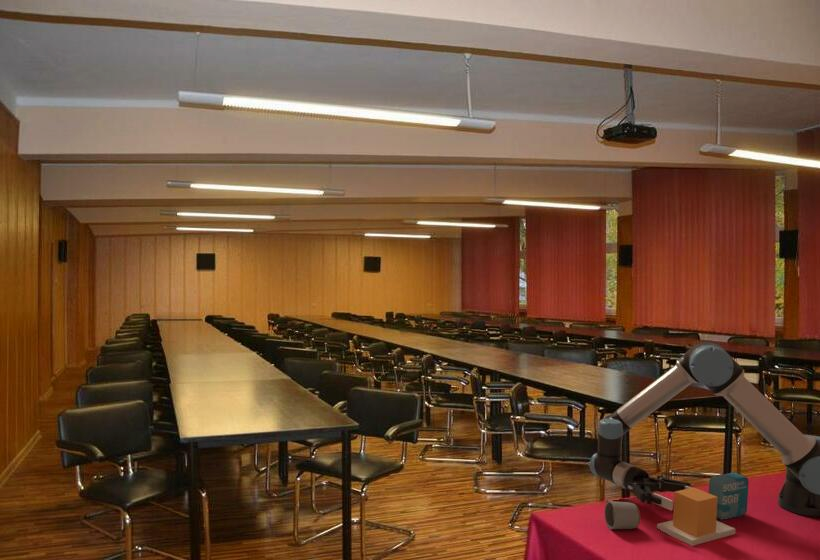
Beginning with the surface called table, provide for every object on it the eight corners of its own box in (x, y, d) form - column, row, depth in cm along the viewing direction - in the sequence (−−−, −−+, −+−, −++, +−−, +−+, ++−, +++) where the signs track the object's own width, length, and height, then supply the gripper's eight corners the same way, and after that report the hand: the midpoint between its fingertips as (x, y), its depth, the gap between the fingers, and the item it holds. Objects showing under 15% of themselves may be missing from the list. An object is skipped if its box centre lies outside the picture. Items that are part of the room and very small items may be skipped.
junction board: (699, 518, 205) (700, 492, 205) (735, 533, 195) (736, 506, 194) (657, 528, 196) (658, 501, 196) (692, 545, 186) (693, 517, 185)
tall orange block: (691, 521, 199) (693, 487, 198) (715, 531, 192) (717, 496, 191) (672, 525, 195) (674, 491, 195) (696, 536, 188) (698, 501, 188)
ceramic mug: (641, 532, 194) (642, 506, 193) (614, 533, 193) (615, 506, 192) (625, 518, 204) (626, 493, 204) (599, 519, 203) (599, 493, 203)
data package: (719, 521, 204) (721, 481, 203) (706, 515, 208) (708, 476, 207) (747, 514, 209) (749, 476, 208) (734, 509, 213) (736, 471, 212)
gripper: (658, 483, 220) (716, 507, 201) (601, 496, 208) (657, 522, 189) (659, 460, 219) (717, 482, 201) (602, 471, 207) (658, 495, 189)
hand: (688, 501), depth 195 cm, fingers open, 13 cm apart
